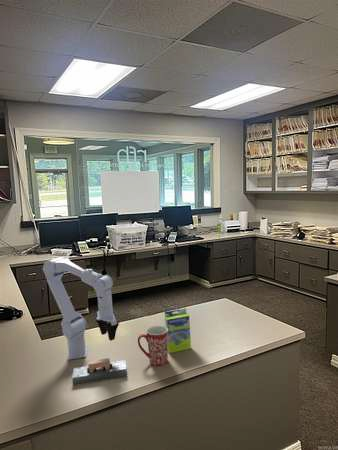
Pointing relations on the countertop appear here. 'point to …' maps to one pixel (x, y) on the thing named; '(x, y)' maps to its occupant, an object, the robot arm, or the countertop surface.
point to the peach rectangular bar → (99, 364)
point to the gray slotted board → (99, 373)
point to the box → (178, 330)
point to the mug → (156, 345)
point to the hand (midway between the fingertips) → (108, 336)
